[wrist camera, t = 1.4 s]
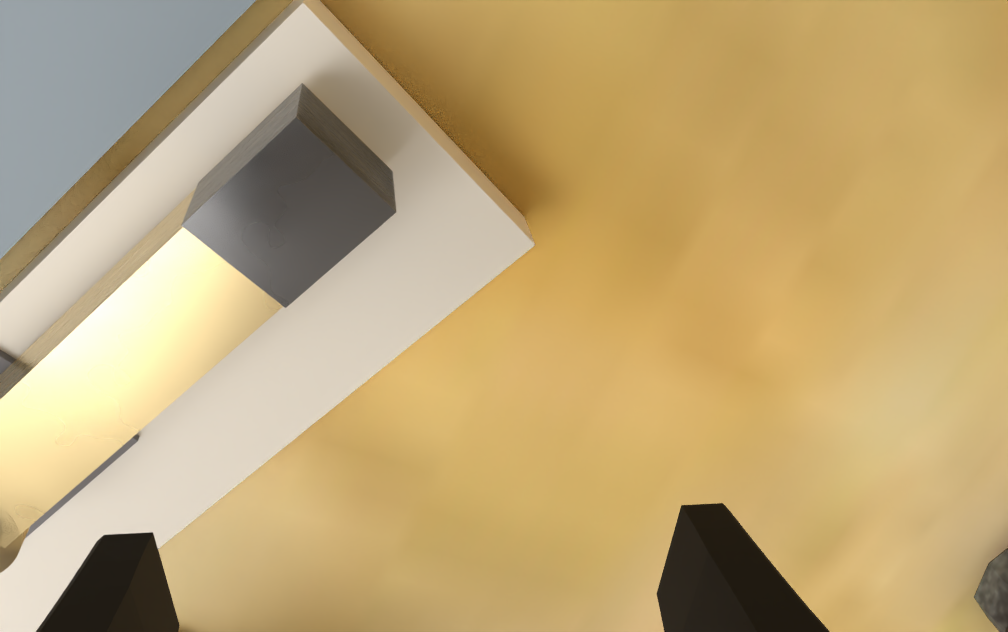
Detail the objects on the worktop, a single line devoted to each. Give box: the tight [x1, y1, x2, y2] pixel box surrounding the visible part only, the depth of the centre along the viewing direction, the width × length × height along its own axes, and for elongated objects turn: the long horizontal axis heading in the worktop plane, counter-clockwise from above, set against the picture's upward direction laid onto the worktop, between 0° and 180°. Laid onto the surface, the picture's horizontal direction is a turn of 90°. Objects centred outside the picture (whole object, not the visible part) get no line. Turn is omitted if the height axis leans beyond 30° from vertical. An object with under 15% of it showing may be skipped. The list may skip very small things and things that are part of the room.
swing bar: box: [0, 83, 396, 573], centre depth 17 cm, size 14×3×2 cm, turn 130°
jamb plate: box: [0, 0, 535, 632], centre depth 21 cm, size 7×22×2 cm, turn 130°
